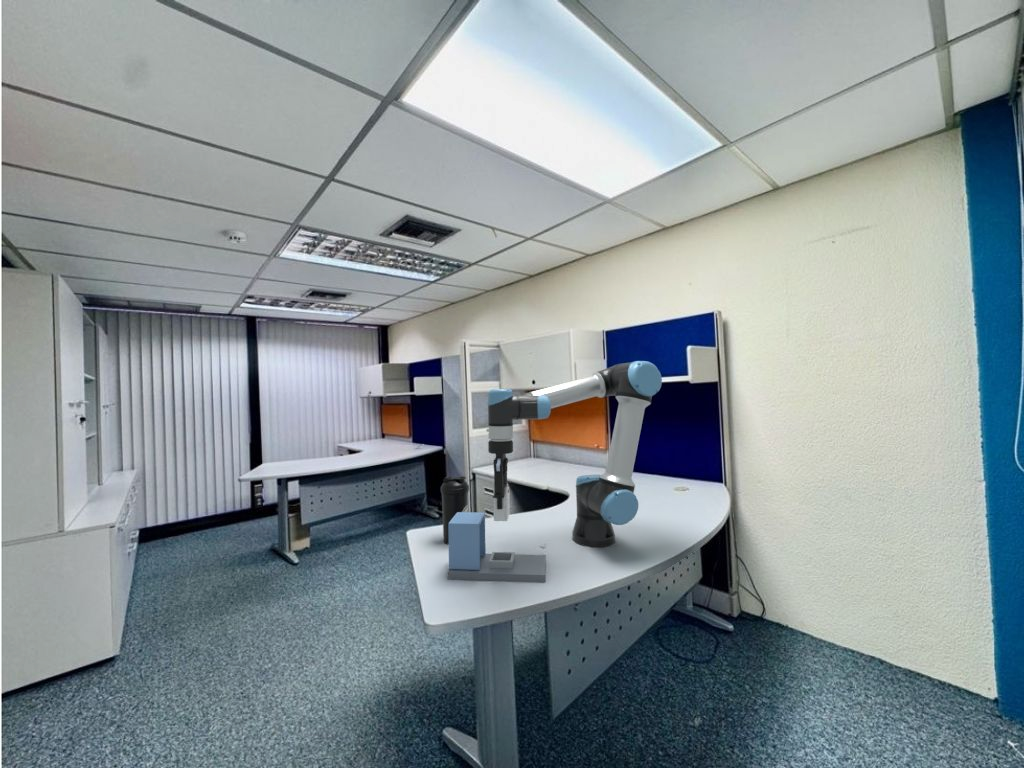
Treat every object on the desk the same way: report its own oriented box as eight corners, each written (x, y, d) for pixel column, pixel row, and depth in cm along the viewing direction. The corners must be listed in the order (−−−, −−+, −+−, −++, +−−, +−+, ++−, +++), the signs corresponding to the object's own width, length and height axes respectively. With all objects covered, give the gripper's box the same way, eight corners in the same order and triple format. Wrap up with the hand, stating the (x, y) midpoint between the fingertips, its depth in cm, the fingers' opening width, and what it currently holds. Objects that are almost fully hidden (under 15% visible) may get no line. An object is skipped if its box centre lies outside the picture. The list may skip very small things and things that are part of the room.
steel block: (495, 516, 123) (495, 484, 123) (508, 517, 122) (508, 484, 123) (493, 520, 119) (493, 487, 119) (506, 521, 118) (506, 487, 119)
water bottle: (464, 546, 139) (463, 480, 139) (436, 545, 141) (436, 479, 141) (473, 536, 149) (472, 474, 149) (447, 534, 151) (446, 474, 151)
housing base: (545, 561, 126) (545, 548, 126) (545, 582, 112) (545, 567, 112) (458, 559, 128) (458, 546, 128) (447, 579, 114) (447, 565, 114)
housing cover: (485, 554, 126) (484, 512, 126) (479, 569, 115) (478, 523, 115) (457, 553, 127) (457, 512, 127) (448, 568, 116) (448, 523, 116)
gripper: (492, 436, 130) (493, 508, 129) (483, 443, 113) (484, 525, 112) (515, 436, 129) (516, 509, 129) (509, 443, 112) (510, 526, 112)
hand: (501, 516), depth 121 cm, fingers closed on steel block, 4 cm apart
